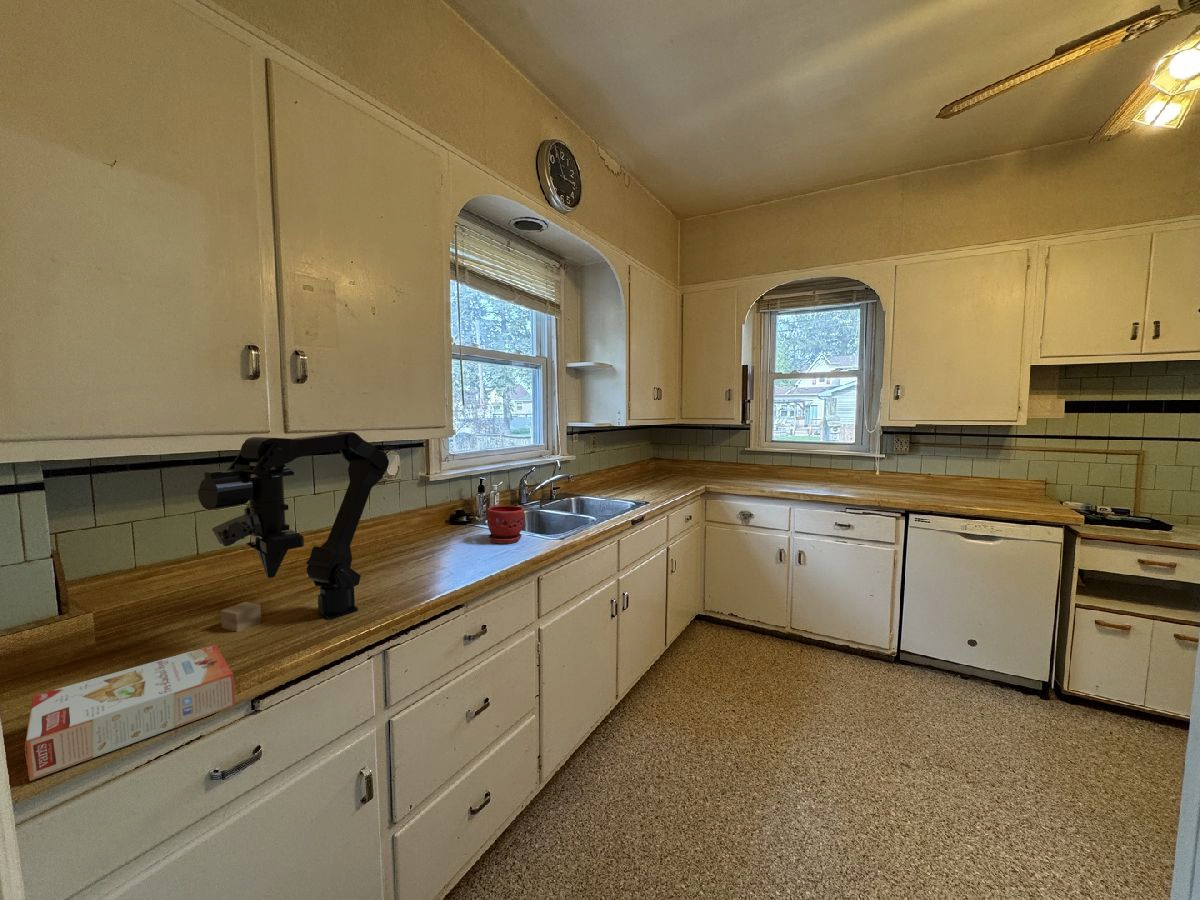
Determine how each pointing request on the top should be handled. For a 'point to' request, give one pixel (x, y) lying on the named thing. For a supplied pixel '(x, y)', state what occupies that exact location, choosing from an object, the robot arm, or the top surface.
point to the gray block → (241, 616)
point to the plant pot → (505, 523)
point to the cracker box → (124, 708)
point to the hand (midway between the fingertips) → (271, 577)
